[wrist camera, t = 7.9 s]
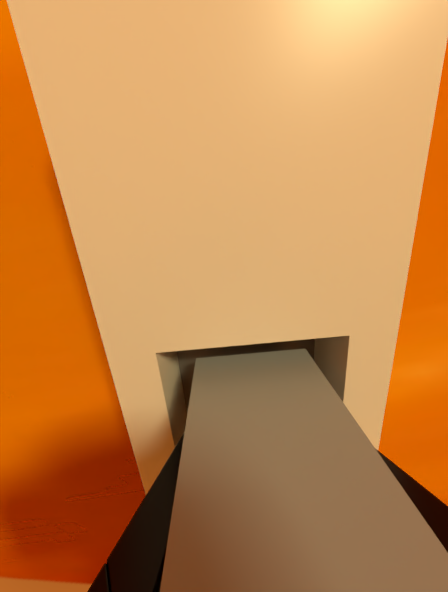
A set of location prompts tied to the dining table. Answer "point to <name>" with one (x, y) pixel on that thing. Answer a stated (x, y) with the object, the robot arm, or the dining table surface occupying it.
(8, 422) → the dining table surface
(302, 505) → the plug
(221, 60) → the cream socket panel
